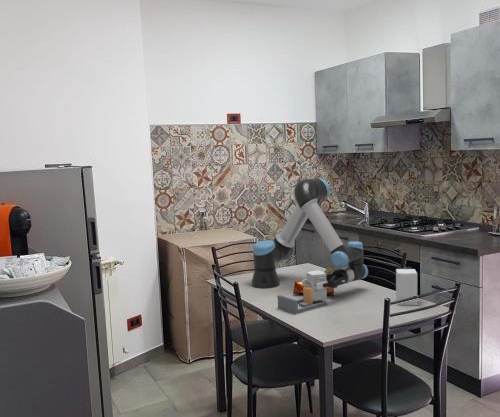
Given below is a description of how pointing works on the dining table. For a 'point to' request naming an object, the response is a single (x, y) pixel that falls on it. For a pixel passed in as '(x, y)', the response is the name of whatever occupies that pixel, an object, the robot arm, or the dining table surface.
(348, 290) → the dining table surface
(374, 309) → the dining table surface
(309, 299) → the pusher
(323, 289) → the supplement box
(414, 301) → the supplement box
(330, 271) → the rock
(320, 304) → the grey l-shaped block
